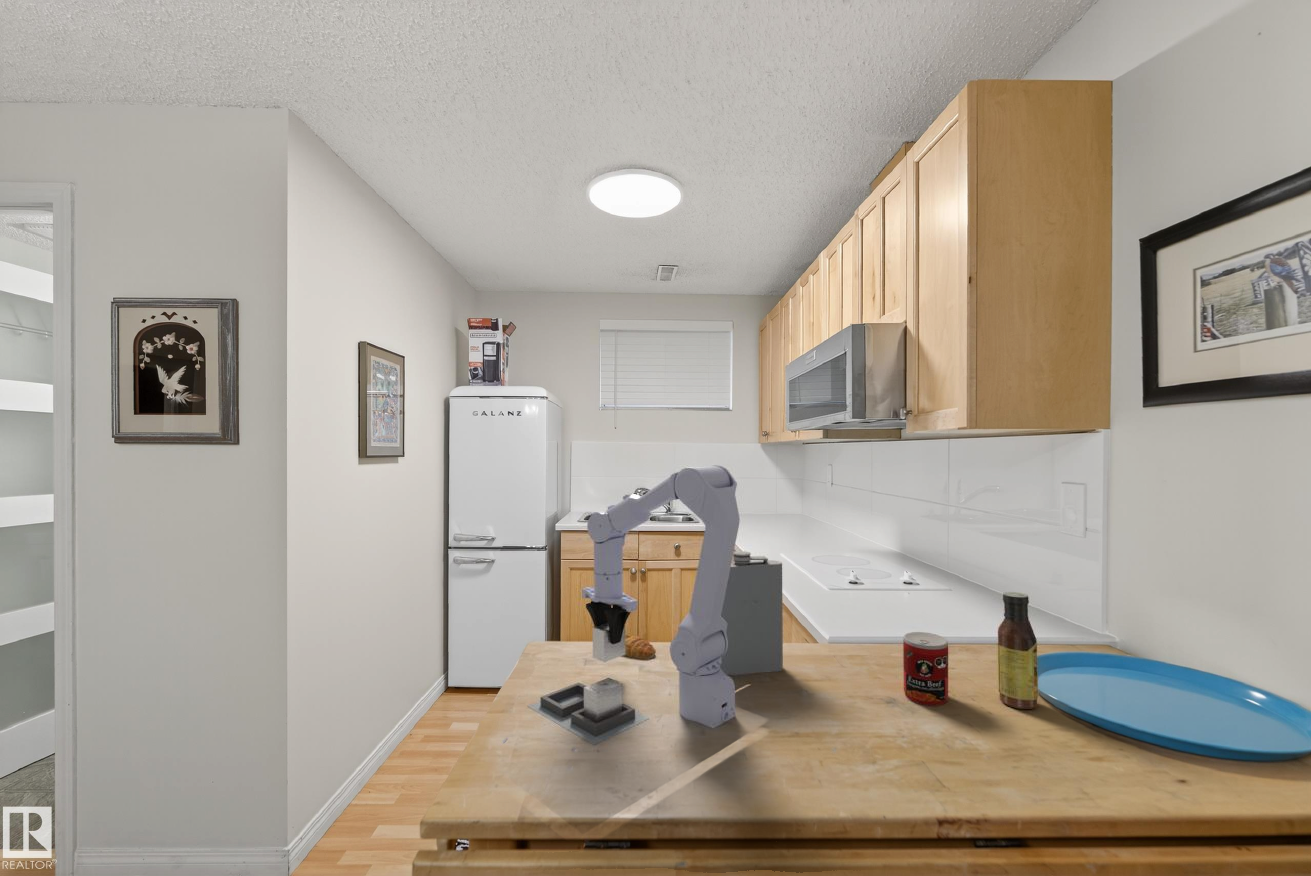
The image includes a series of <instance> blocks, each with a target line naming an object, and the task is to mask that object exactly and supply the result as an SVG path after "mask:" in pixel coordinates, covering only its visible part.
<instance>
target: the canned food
mask: <svg viewBox="0 0 1311 876" xmlns="http://www.w3.org/2000/svg"><path fill="white" fill-rule="evenodd" d="M902 647H903V648H902V649H903V650H902V651H903V654H902V657H903V661H902V662H903V663H902V664H903V691H904V695H905V697H907V699H909V700H910V701H911V702H915V703H917V704H920V705H925V706H940V705H943V704H946V702H947V701H948V698H949V641H948V639H947V638H945V637H943V636H941V635H939V634H935V633H931V632H924V631H921V632H920V631H913V632H908V633H906V634H904V635H903V644H902Z"/></svg>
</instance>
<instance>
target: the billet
mask: <svg viewBox="0 0 1311 876" xmlns="http://www.w3.org/2000/svg"><path fill="white" fill-rule="evenodd" d="M585 686H586V687H584V717H585V718H587V719H589V720H591V721H593V722H595V723H599V722H601V721H603V720H606V719H608V718H610V717H612V716H614V715H617V714H619V713H621V712H622V703H623V683H622V682H620V681H618V680H615V679H613V678H610V677H606V678H604V679H602V680H599V681H596V682H594V683H592V684H589V685H585Z"/></svg>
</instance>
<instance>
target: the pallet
mask: <svg viewBox="0 0 1311 876" xmlns="http://www.w3.org/2000/svg"><path fill="white" fill-rule="evenodd" d="M586 686H587V685H585V684H583V683H581V682H577V683H574V684H572V685H569V686H566V687H564V688H560V689H558V690H555V691H552V692H550V693H547V694H544V695H541V696H540V700H539V701H536V702H534V703H531V704H528V705H527V708H529V709H531V710H533V711H534V712H536V713H538V714H540V715H541V716H543V717H545V718H547V719H548V720H550V721H552V722H554V723H555V724H557V725H559V726H561V727H563V728H564V729H566V730H568V731H569V732H571V733H572V734H575V735H577V736H578V737H580V738H581V739H583V740H585V741H586V742H588V743H590V744H591V745H594V746H596V745H598V744H600V743H602V742H603V741H606V740H609V739H610V738H612V737H615V736H617V735H618V734H621V733H623V732H625V731H627V730H628V729H630V728H633V727H635V726H638V725H639V724H642V723H643V722H645V721H647V720H649V719H650V717H647V716H645V715H643V714H641V713H639V712H637V711H636V708H634V707H631V706H629V705H628V704H625V703H623V702H622V712H621V713H619V714H617V715H614V716H612V717H610V718H608V719H606V720H603V721H601V722H599V723H595V722H593V721H591V720H589V719H587V718H585V717H584V687H586Z"/></svg>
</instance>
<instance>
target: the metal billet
mask: <svg viewBox="0 0 1311 876" xmlns="http://www.w3.org/2000/svg"><path fill="white" fill-rule="evenodd" d="M625 635H626V625H625V626H624V630H623V633H622V638H621V642H619V643H616V644H611V642H610V635H609V625H608V623H605V624H602V625H598V626H595V627H594V626H592V658H593V659H596V660H598V661H599V662H600V661H601V662H603V663H606V662H609V661H612V660H615V659H616V658H620V657H623V656H624V655H625Z"/></svg>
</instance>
